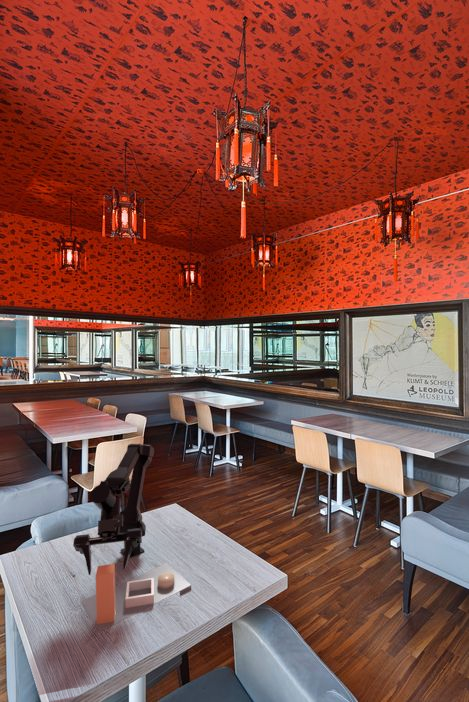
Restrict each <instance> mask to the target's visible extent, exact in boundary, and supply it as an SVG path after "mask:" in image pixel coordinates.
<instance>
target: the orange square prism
mask: <svg viewBox="0 0 469 702" xmlns="http://www.w3.org/2000/svg"><path fill="white" fill-rule="evenodd" d="M95 573H96V574H95V595H96V608H97V624H102V623H107V622H113V621H115V613H116V593H115V586H116V564H115V563H111V564H101V565H98V566H97V568H96V572H95Z"/></svg>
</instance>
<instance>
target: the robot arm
mask: <svg viewBox="0 0 469 702" xmlns="http://www.w3.org/2000/svg"><path fill="white" fill-rule="evenodd" d="M154 454H155V448H154V447H153V446H152V445H151V444H141V443H130V444H128V445H127V447H126V451H125V453H124V455H123V457H122V459H121V461H120V463H119V464H118V466H117V468H116V469H114V470H112V471H111V472H110V473H109V474H108V475H107V477H106V478H105V479H104V480H101V481H100V482H99V484H98V485H96V486H95V487H93V489H92V490H91V491H90V492H89V494H90V495H89V497H90V501H91V502H92V503H93V504H94V505H95V506H96V507H97V508H98V510H100V518H99V519H100V520H98V521H97V536H96V537H91V536H90V534H89V533H88V534H80V535H79V534H78V535H76V536H75V537H74V539H73V544H72V545H73V548H74V550H75V552H77V553H78V552H79V554H81V555H83V556H84V559H85V564H86V569H87V572H88V575H89V576H91V575H92V549H91V547H92V546H95V545H103V544H104V545H105V544H112V543H119V542H123V548H121V549H120V553H121V554H122V555H124V556H123V562H122V563H123V565H122V569H123V570H122V571H125V570H126V567H127V566H128V565H127V564H128V562H129V559H131V558H133V557H135V556H138V555H140V554H143V553H145V549H144V548H143V547H141V544H142V543H143V542H142V541H143V539H142V538H143V537H145V536H146V531H147V525H146V524H145V522H144V521H143V515H142V513H141V510H140V507H141V500H142V493H143V487H144V484H145V483H144V481H145V477H146V471H147V468H148V467H149V466H150V465H151V463H152V460H153V457H154ZM130 476H131V478H130ZM127 492H128V494H127ZM118 495H128V497H127V501H126V507H125V508H124V509H123V510H121V506H122V500H121V499H122V498H120V497H119V496H118Z"/></svg>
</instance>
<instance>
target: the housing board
mask: <svg viewBox="0 0 469 702" xmlns="http://www.w3.org/2000/svg"><path fill="white" fill-rule="evenodd" d="M191 589H192V585H191V583H189V582H188V581H187V580H186V579H185V578H184V577H183V576H182V575H181V574H180V573H178V571H176V570H175V568H173V567H171V565H169V564H168V562H166V563H163V564H161V565H159V566H157V567H154V568H152V569H150V570H148V571H144V572H143V573H141V574H139V575H136V576H135V577H132V578H130V579H128V580H126V581H123V582H121V583H118V584H117V585H116V584H115V593H116V613H115V621H113V622H107V623H102V624H97V608H96V594H94V595H91V596H90V597H87V598H85V599H82V600H81V601H80V603H81V604H82V607H83V608H84V610H85V611H86V614H88V616H89V618H90V619H91V622H92V623H93V625H94V626H95V628H96V630H97V632H98V633H100V632H102V631H105V630H106V629H108V628H110V627H113V626H114V625H117V624H118V623H121V622H122V621H124V620H126V619H128V618H130V617H132V616H134V615H136V614H138V613H140V612H142V611H144V610H146V609H148V608H149V607H152V606H154V605H156V604H157V603H159V602H161V601H164V600H165V599H167V598H169V597H171V596H173V595H175V594H177V593H178V592H179V595H180V594H183V593H185V592H187V591H189V590H191Z"/></svg>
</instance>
